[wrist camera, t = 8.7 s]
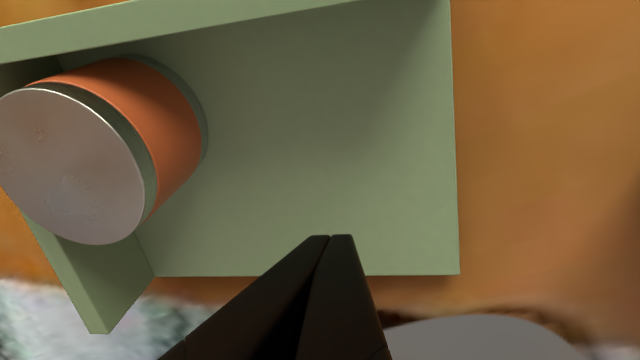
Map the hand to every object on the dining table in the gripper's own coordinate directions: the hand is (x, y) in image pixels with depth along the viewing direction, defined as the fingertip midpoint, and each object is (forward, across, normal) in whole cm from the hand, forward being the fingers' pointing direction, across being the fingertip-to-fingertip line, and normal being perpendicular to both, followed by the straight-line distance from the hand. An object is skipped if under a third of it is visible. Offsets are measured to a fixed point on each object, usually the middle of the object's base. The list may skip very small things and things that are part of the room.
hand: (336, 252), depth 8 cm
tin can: (+11, +11, 0) cm, 16 cm away
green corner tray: (+12, +6, +2) cm, 14 cm away
